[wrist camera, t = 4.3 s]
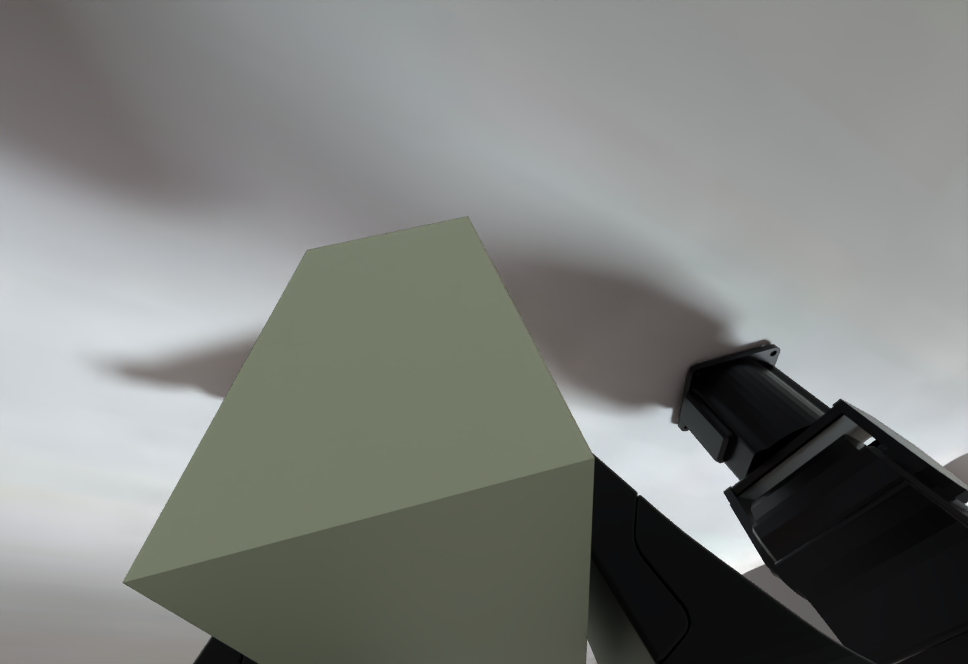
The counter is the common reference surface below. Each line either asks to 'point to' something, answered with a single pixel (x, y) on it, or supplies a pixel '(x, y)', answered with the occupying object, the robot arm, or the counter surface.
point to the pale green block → (386, 475)
